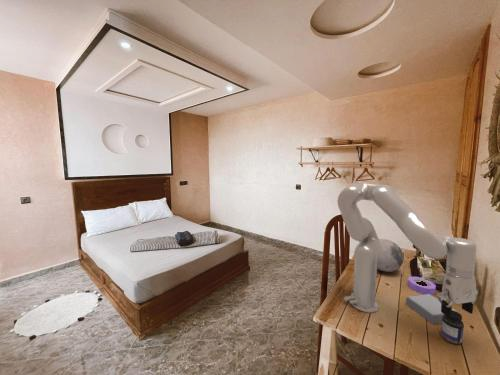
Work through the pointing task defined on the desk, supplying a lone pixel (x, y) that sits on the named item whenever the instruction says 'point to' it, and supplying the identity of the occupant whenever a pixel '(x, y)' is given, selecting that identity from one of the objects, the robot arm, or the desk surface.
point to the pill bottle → (452, 328)
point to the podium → (426, 307)
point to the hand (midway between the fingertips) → (456, 313)
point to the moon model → (389, 256)
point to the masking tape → (419, 288)
